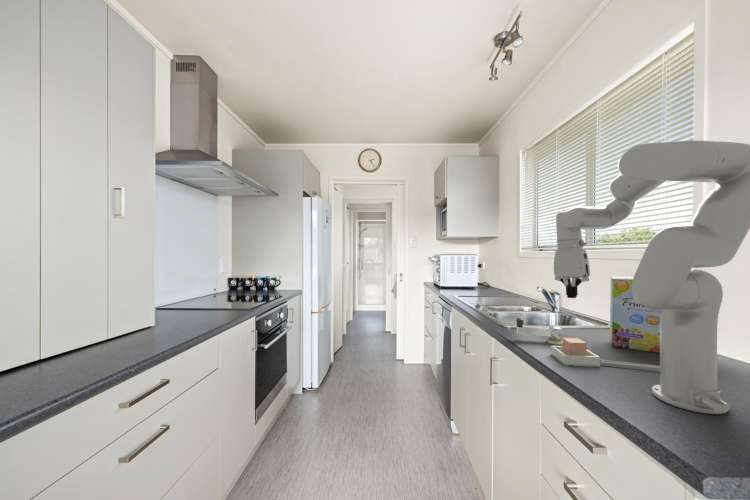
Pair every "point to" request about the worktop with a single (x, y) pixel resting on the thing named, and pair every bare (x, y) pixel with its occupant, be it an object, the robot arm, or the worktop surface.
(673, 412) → the worktop surface
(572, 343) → the block
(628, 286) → the snack box
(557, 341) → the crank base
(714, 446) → the worktop surface
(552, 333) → the crank
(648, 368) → the adjustable wrench
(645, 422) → the worktop surface
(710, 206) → the robot arm
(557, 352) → the tray
